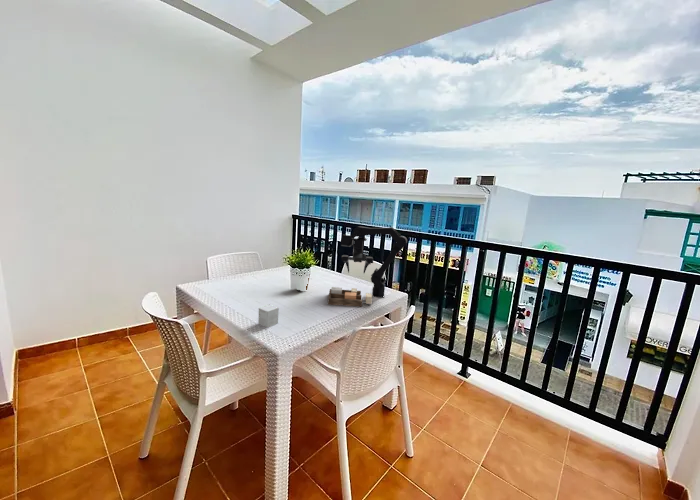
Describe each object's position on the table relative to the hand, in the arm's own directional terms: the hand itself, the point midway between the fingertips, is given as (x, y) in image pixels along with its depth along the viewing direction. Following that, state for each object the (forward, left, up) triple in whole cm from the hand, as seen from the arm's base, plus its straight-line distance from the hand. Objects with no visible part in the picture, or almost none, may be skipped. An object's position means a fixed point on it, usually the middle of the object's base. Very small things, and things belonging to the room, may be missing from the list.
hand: (356, 273), depth 166 cm
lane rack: (+6, +15, -12) cm, 20 cm away
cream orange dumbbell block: (-1, +19, -11) cm, 22 cm away
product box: (+39, +49, -12) cm, 64 cm away
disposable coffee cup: (+32, +2, -12) cm, 34 cm away
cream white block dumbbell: (+7, +11, -11) cm, 17 cm away
